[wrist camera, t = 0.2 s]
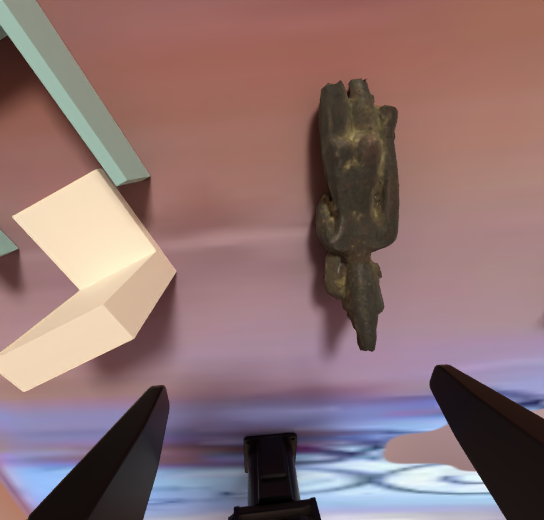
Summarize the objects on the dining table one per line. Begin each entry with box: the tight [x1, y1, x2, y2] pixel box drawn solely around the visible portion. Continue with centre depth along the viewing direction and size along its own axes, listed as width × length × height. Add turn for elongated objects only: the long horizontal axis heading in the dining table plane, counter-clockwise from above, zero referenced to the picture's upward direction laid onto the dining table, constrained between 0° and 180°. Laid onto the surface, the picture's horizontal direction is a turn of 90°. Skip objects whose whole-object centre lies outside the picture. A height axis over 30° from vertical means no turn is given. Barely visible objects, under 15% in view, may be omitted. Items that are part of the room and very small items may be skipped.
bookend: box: [0, 169, 177, 392], centre depth 17 cm, size 10×8×9 cm
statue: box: [315, 78, 399, 352], centre depth 19 cm, size 6×6×20 cm
